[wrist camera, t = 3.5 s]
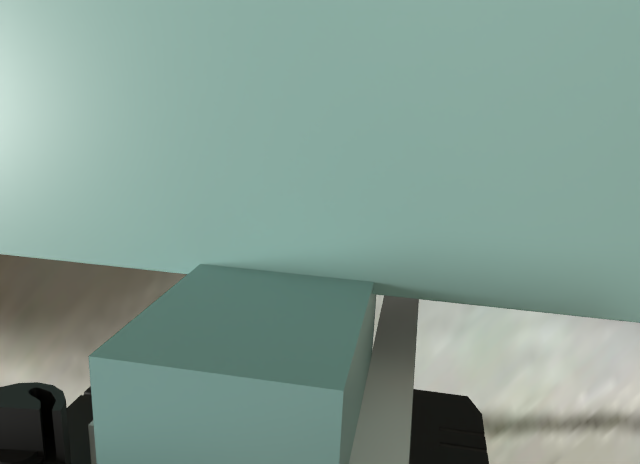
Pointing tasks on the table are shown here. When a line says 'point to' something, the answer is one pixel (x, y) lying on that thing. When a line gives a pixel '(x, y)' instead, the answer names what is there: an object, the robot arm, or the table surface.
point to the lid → (313, 191)
